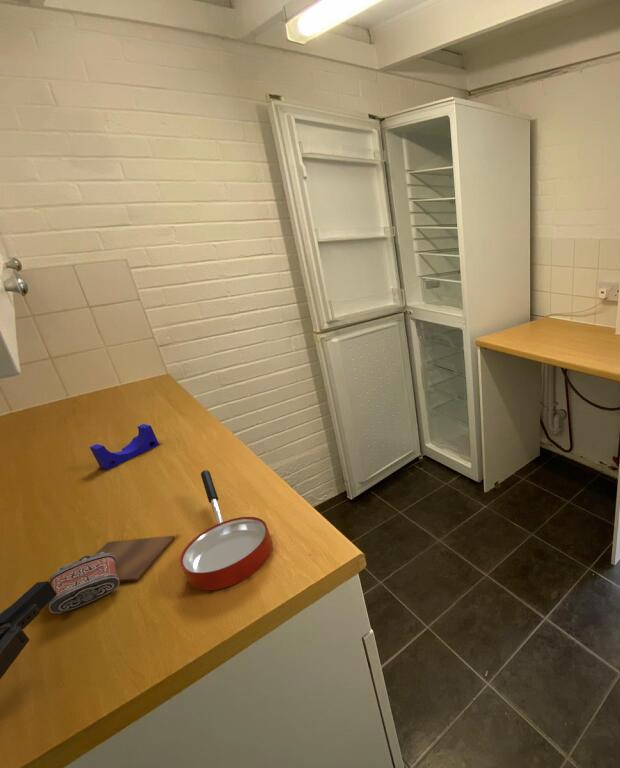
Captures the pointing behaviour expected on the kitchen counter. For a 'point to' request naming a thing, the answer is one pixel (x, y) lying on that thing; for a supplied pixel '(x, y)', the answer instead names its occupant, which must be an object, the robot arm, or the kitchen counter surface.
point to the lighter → (83, 581)
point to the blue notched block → (126, 448)
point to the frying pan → (225, 548)
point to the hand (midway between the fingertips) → (47, 588)
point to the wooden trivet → (135, 555)
